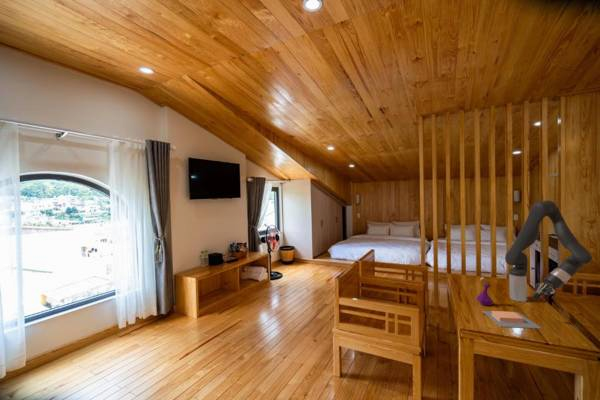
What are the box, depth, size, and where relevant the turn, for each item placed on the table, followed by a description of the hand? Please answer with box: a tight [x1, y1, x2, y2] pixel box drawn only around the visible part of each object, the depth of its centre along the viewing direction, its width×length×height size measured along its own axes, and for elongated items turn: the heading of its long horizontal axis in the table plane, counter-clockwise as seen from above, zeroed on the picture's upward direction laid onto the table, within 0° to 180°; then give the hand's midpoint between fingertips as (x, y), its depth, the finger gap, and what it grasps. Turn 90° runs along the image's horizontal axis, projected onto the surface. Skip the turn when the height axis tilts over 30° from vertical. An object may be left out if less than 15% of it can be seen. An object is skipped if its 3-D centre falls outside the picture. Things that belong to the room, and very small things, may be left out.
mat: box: [482, 310, 543, 330], centre depth 153 cm, size 20×20×1 cm
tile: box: [492, 310, 524, 323], centre depth 153 cm, size 9×2×12 cm
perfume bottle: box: [476, 276, 494, 307], centre depth 176 cm, size 8×8×18 cm
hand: (533, 298), depth 151 cm, fingers closed
